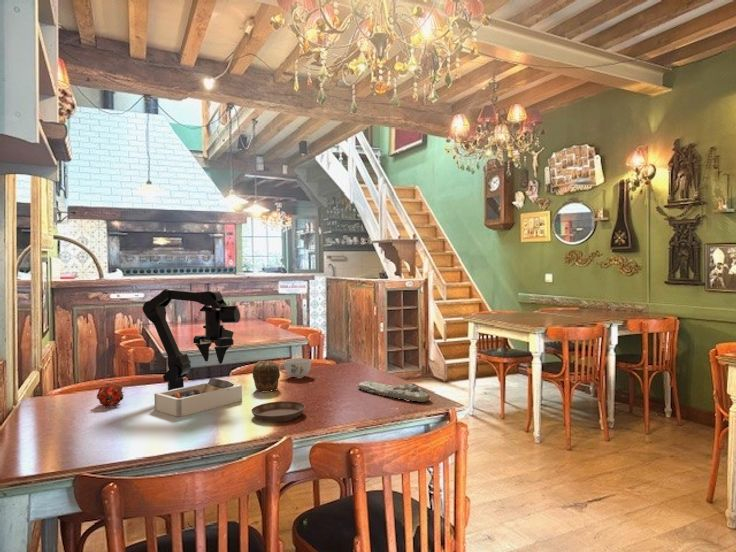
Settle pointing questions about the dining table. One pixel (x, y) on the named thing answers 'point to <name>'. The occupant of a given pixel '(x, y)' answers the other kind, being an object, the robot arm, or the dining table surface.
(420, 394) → the long grey stone
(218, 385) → the trapdoor
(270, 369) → the brown ridged rounded piece
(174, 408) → the frame
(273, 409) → the plant saucer
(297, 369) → the teacup
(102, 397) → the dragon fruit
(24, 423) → the dining table surface
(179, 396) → the supplement bottle
